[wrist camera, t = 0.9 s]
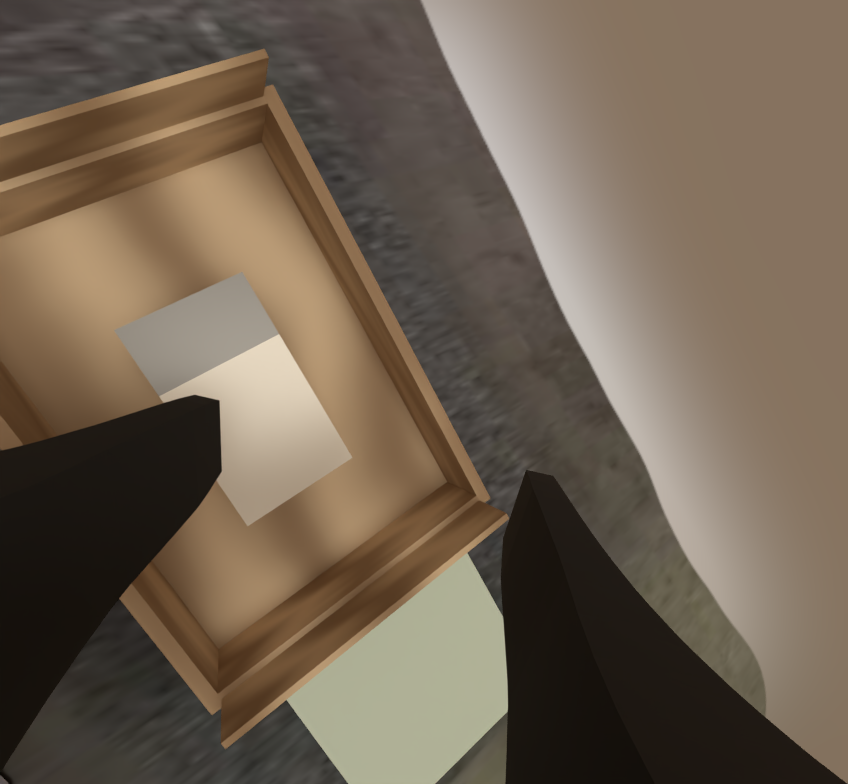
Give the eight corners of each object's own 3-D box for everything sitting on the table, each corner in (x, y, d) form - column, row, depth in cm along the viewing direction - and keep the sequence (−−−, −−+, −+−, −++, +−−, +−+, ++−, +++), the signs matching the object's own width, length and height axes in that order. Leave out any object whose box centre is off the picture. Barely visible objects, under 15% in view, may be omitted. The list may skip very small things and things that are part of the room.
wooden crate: (214, 660, 22) (210, 761, 17) (-93, 259, 18) (-254, 198, 12) (454, 482, 27) (518, 511, 22) (265, 131, 23) (279, 44, 17)
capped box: (242, 489, 22) (247, 526, 17) (144, 343, 20) (114, 330, 15) (323, 439, 24) (352, 457, 18) (238, 298, 22) (242, 271, 16)
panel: (382, 825, 26) (384, 833, 26) (270, 672, 24) (270, 678, 23) (533, 676, 30) (538, 680, 30) (452, 530, 27) (455, 533, 27)
